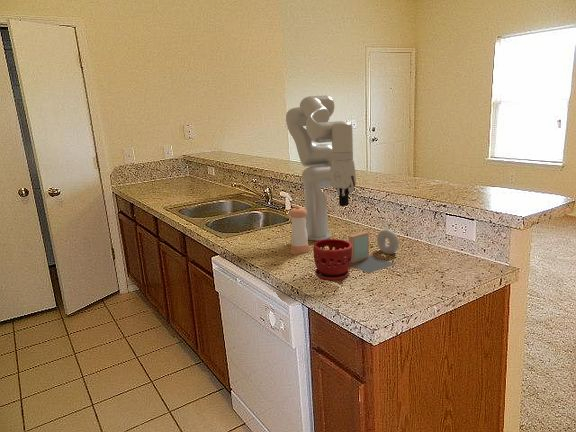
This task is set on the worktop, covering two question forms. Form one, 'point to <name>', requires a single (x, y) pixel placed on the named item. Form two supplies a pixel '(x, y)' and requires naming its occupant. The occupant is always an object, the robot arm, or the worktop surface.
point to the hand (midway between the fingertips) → (343, 205)
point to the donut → (392, 239)
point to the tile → (359, 246)
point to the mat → (371, 264)
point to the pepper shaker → (299, 231)
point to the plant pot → (332, 259)
